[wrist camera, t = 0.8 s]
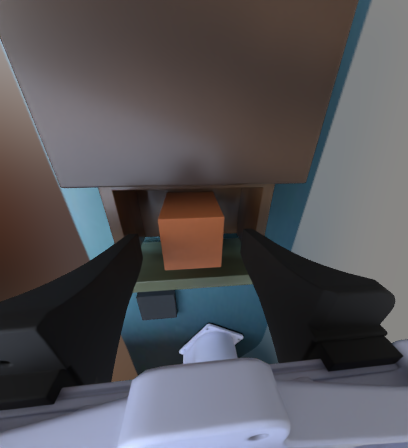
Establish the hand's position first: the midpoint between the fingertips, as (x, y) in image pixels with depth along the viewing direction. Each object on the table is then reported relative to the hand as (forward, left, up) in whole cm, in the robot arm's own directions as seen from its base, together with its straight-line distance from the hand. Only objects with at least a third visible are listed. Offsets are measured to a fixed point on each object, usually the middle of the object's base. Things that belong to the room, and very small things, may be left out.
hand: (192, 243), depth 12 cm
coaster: (-15, -4, -7) cm, 17 cm away
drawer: (-1, -1, -6) cm, 6 cm away
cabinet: (+8, +5, -7) cm, 12 cm away
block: (0, 0, -5) cm, 5 cm away
